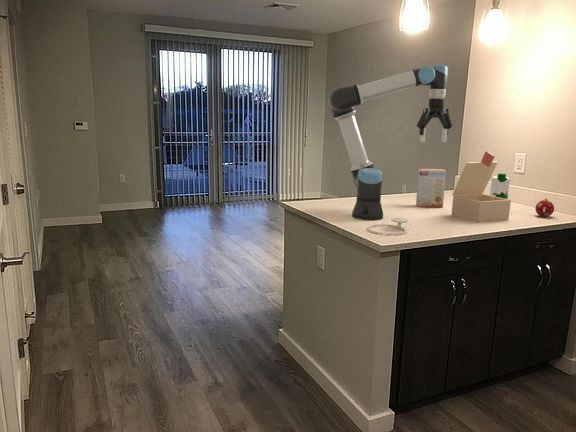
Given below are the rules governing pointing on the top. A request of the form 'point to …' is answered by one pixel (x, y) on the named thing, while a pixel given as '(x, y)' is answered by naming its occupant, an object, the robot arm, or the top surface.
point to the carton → (481, 207)
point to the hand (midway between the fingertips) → (433, 141)
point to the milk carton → (500, 186)
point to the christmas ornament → (544, 208)
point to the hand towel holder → (399, 220)
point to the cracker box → (430, 188)
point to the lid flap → (476, 176)
